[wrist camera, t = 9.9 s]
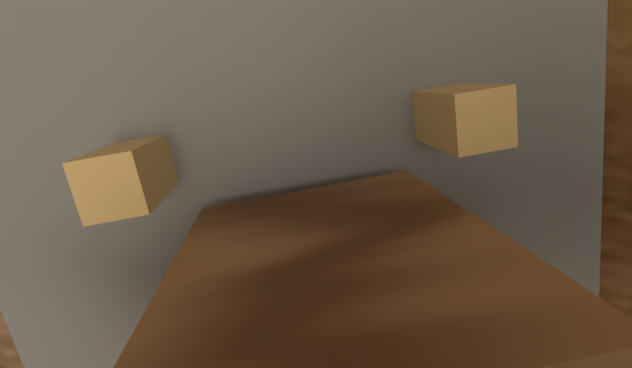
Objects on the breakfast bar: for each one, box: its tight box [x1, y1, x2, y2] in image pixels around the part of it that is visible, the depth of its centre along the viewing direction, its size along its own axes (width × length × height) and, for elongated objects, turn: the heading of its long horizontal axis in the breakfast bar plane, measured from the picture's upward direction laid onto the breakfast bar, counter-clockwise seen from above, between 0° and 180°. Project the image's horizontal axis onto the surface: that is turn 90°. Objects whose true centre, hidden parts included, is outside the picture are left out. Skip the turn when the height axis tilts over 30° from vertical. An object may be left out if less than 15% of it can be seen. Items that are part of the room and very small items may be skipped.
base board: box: [0, 0, 608, 368], centre depth 13 cm, size 20×20×4 cm
